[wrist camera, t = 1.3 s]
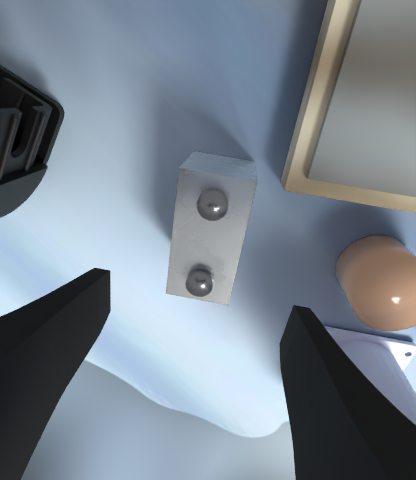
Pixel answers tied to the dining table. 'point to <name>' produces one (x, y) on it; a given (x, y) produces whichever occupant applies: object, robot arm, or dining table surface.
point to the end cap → (24, 138)
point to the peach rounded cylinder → (380, 282)
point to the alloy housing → (209, 225)
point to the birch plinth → (359, 108)
